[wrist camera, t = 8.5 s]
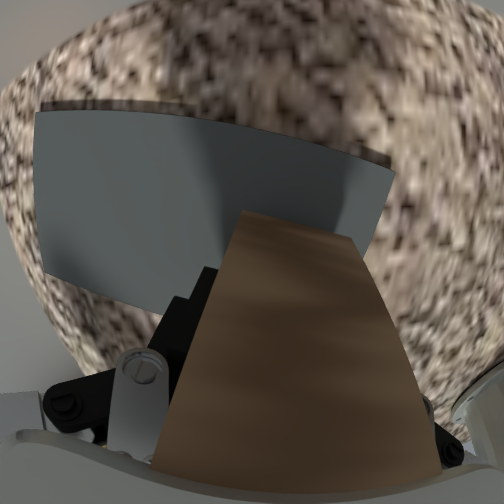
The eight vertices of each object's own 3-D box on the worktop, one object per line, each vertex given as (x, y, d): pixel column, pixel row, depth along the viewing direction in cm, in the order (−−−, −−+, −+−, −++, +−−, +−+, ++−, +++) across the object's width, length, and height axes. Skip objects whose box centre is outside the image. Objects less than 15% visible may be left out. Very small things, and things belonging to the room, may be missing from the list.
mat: (391, 169, 12) (395, 172, 11) (316, 344, 18) (317, 350, 17) (41, 111, 12) (35, 112, 11) (49, 268, 17) (44, 272, 17)
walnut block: (351, 237, 12) (449, 510, 2) (315, 320, 14) (328, 541, 4) (242, 209, 12) (133, 521, 2) (223, 300, 14) (160, 527, 4)
